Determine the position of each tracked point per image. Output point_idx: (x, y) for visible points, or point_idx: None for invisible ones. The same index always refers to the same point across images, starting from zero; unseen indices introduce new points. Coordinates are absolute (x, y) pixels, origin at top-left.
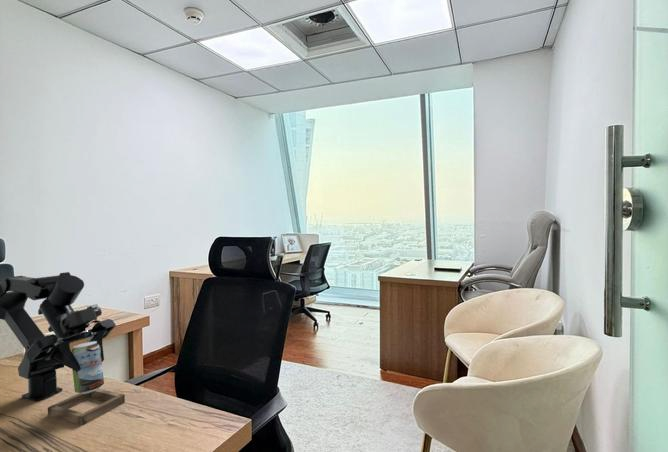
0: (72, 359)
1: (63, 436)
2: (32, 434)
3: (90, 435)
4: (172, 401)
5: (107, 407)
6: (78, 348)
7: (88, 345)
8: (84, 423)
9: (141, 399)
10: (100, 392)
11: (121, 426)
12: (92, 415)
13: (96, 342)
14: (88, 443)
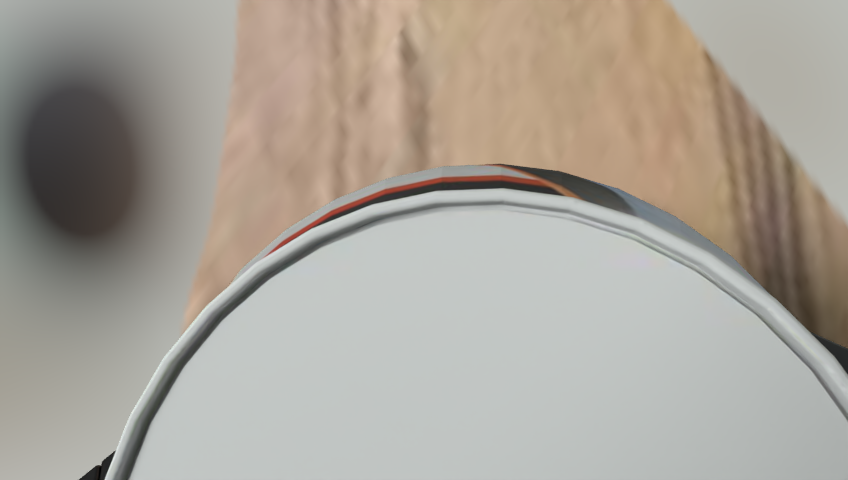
0: (842, 366)
1: (715, 195)
2: None
3: (628, 89)
4: (241, 46)
5: None
6: (833, 382)
7: (545, 197)
8: None
9: (282, 200)
10: None
11: (504, 42)
12: None
13: (201, 320)
14: (665, 34)
